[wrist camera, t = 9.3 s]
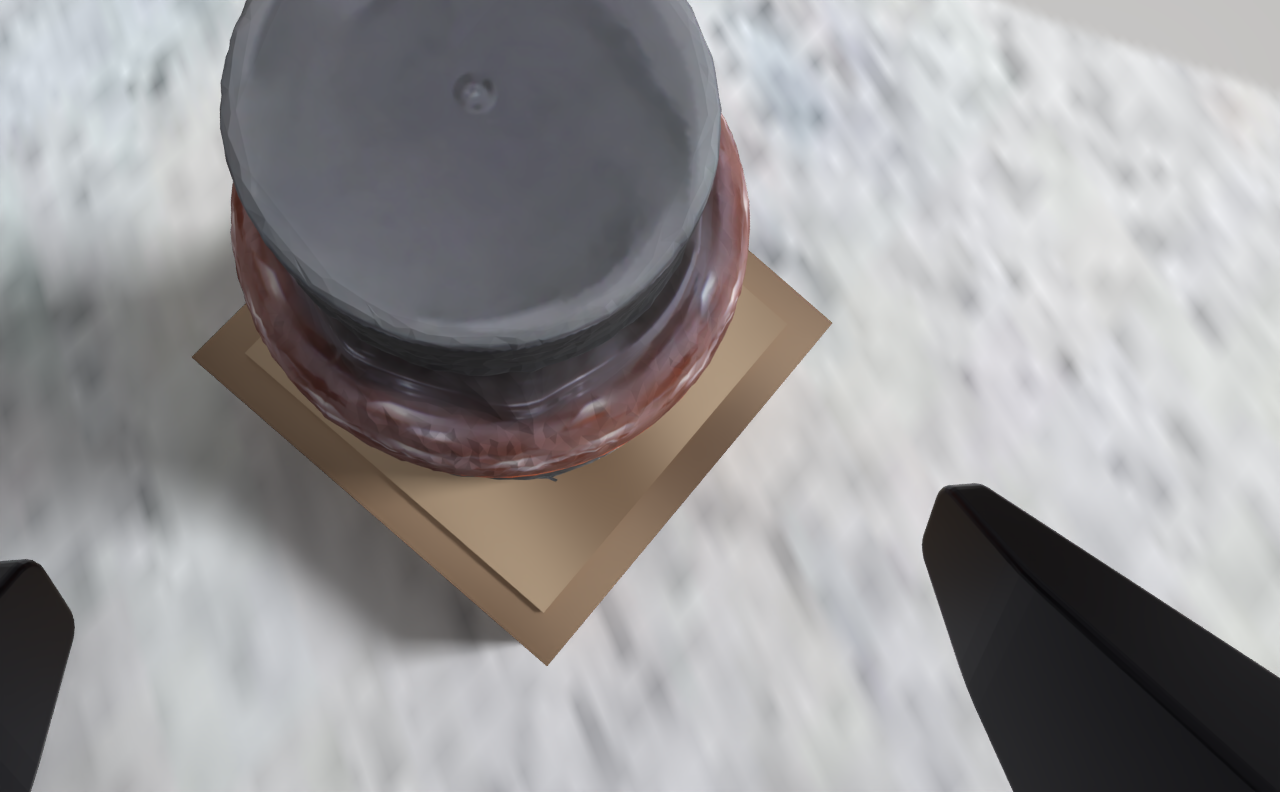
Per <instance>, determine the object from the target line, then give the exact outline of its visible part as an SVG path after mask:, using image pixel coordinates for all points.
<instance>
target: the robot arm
mask: <svg viewBox="0 0 1280 792" xmlns="http://www.w3.org/2000/svg"><path fill="white" fill-rule="evenodd" d="M922 552H923V558H924V561H925V564H926V567H927V570H928V574H929V577H930V580H931V583H932V586H933V589H934V592H935V595H936V598H937V601H938V604H939V607H940V610H941V613H942V616H943V619H944V622H945V625H946V628H947V631H948V634H949V637H950V640H951V643H952V646H953V649H954V652H955V656H956V659H957V662H958V665H959V668H960V670H961V673H962V676H963V679H964V681H965V684H966V687H967V689H968V692H969V694H970V696H971V699H972V701H973V704H974V706H975V708H976V711H977V713H978V715H979V717H980V719H981V722H982V724H983V726H984V728H985V730H986V733H987V735H988V737H989V739H990V741H991V744H992V746H993V748H994V750H995V753H996V755H997V757H998V759H999V761H1000V764H1001V766H1002V768H1003V770H1004V772H1005V775H1006V777H1007V779H1008V781H1009V783H1010V786H1011V788H1012V790H1013V792H1280V678H1279V677H1278V676H1276V675H1275V674H1273V673H1272V672H1270V671H1269V670H1267V669H1265V668H1264V667H1262V666H1261V665H1259V664H1258V663H1256V662H1255V661H1253V660H1252V659H1250V658H1249V657H1247V656H1246V655H1244V654H1242V653H1241V652H1239V651H1238V650H1236V649H1235V648H1233V647H1232V646H1230V645H1229V644H1227V643H1226V642H1224V641H1223V640H1221V639H1219V638H1218V637H1216V636H1215V635H1213V634H1212V633H1210V632H1209V631H1207V630H1206V629H1204V628H1203V627H1201V626H1200V625H1198V624H1196V623H1195V622H1193V621H1192V620H1190V619H1189V618H1187V617H1186V616H1184V615H1183V614H1181V613H1180V612H1178V611H1177V610H1175V609H1174V608H1172V607H1170V606H1169V605H1167V604H1166V603H1164V602H1163V601H1161V600H1160V599H1158V598H1157V597H1155V596H1154V595H1152V594H1151V593H1149V592H1147V591H1146V590H1144V589H1143V588H1141V587H1140V586H1138V585H1137V584H1135V583H1134V582H1132V581H1131V580H1129V579H1128V578H1126V577H1124V576H1123V575H1121V574H1120V573H1118V572H1117V571H1115V570H1114V569H1112V568H1111V567H1109V566H1108V565H1106V564H1105V563H1103V562H1101V561H1100V560H1098V559H1097V558H1095V557H1094V556H1092V555H1091V554H1089V553H1088V552H1086V551H1085V550H1083V549H1082V548H1080V547H1079V546H1077V545H1075V544H1074V543H1072V542H1071V541H1069V540H1068V539H1066V538H1065V537H1063V536H1062V535H1060V534H1059V533H1057V532H1056V531H1054V530H1052V529H1051V528H1049V527H1048V526H1046V525H1045V524H1043V523H1042V522H1040V521H1039V520H1037V519H1036V518H1034V517H1033V516H1031V515H1029V514H1028V513H1026V512H1025V511H1023V510H1022V509H1020V508H1019V507H1017V506H1016V505H1014V504H1013V503H1011V502H1010V501H1008V500H1006V499H1005V498H1003V497H1002V496H1000V495H999V494H997V493H996V492H994V491H993V490H991V489H990V488H988V487H986V486H984V485H982V484H977V483H972V484H959V485H948V486H945V487H943V488H942V489H941V490H940V491H939V493H938V495H937V497H936V500H935V503H934V506H933V509H932V512H931V515H930V518H929V521H928V524H927V527H926V529H925V532H924V535H923V541H922ZM74 629H75V626H74V619H73V615H72V612H71V610H70V608H69V607H68V605H67V604H66V602H65V601H64V599H63V598H62V596H61V595H60V593H59V591H58V590H57V588H56V587H55V585H54V584H53V582H52V581H51V579H50V578H49V576H48V575H47V573H46V571H45V570H44V568H43V567H42V566H41V565H40V564H38V563H36V562H35V561H33V560H28V559H22V560H10V561H0V792H31V789H32V786H33V783H34V780H35V776H36V773H37V770H38V767H39V763H40V759H41V756H42V752H43V748H44V745H45V741H46V737H47V734H48V730H49V726H50V723H51V719H52V715H53V712H54V708H55V704H56V701H57V697H58V693H59V690H60V686H61V682H62V679H63V675H64V671H65V668H66V664H67V660H68V657H69V653H70V649H71V646H72V642H73V638H74Z"/></svg>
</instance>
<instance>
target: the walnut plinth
mask: <svg viewBox="0 0 1280 792" xmlns="http://www.w3.org/2000/svg"><path fill="white" fill-rule="evenodd" d="M831 324H832V322H831V321H830V320H828V319H827V318H826V317H825V316H824V315H823V314H822V313H820V312H819V311H818V310H817V309H816V308H815V307H813V306H812V305H811V304H810V303H809V302H808V301H807V300H805V299H804V298H803V297H802V296H801V295H800V294H799V293H797V292H796V291H795V290H794V289H793V288H792V287H790V286H789V285H788V284H787V283H786V282H785V281H784V280H782V279H781V278H780V277H779V276H778V275H777V274H776V273H774V272H773V271H772V270H771V269H770V268H769V267H767V266H766V265H765V264H764V263H763V262H762V261H761V260H759V259H758V258H757V257H756V256H755V255H754V254H752V253H751V252H750V251H749V250H748V258H747V265H746V271H745V276H744V280H743V284H742V290H741V294H740V296H739V298H738V300H737V305H736V310H735V313H734V316H733V319H732V321H731V323H730V325H729V327H728V329H727V331H726V334H725V336H724V338H723V340H722V341H721V343H720V345H719V347H718V349H717V351H716V352H715V354H714V356H713V358H712V360H711V362H710V364H709V365H708V367H707V368H706V369H705V371H704V372H703V373H702V374H701V376H700V377H699V379H698V380H697V382H696V383H695V384H694V385H692V386H691V388H690V389H689V390H688V391H687V392H686V394H685V395H684V396H683V397H682V399H681V400H680V401H679V402H677V403H676V404H675V405H674V406H673V407H672V408H671V409H670V410H669V411H668V412H667V413H666V414H665V415H664V416H662V417H661V418H660V419H659V420H658V421H657V422H656V423H655V424H653V425H652V426H651V427H649V428H648V429H646V430H645V431H644V432H642V433H641V434H639V435H638V436H636V437H635V438H633V439H632V440H630V441H629V442H627V443H626V444H624V445H622V446H620V447H619V448H617V449H616V450H614V451H612V452H611V453H609V454H607V455H606V456H604V457H602V458H600V459H598V460H596V461H594V462H592V463H590V464H587V465H584V466H582V467H579V468H576V469H574V470H571V471H568V472H566V473H563V474H560V475H557V476H555V477H553V478H556V479H557V481H556V482H555V481H552V480H550V479H531V480H513V479H511V480H496V479H491V478H485V477H460V476H455V475H451V474H448V473H445V472H440V471H433V470H431V469H428V468H424V467H421V466H418V465H415V464H412V463H410V462H407V461H400V460H398V459H396V458H394V457H392V456H390V455H388V454H386V453H384V452H382V451H380V450H378V449H376V448H373V447H370V446H368V445H367V444H365V443H364V442H362V441H361V440H359V439H358V438H356V437H355V436H354V435H352V434H351V433H349V432H348V431H346V430H344V429H343V428H341V427H339V426H338V425H336V424H334V423H333V422H331V421H329V420H328V419H326V418H325V417H324V416H323V414H322V413H321V412H320V411H319V410H318V409H317V408H316V407H315V406H314V405H313V404H312V403H311V402H310V401H309V400H308V399H307V398H306V397H305V396H304V395H303V394H302V393H301V392H300V391H299V390H298V389H297V387H296V386H295V385H294V384H293V383H292V382H291V381H290V379H289V378H288V377H287V375H286V373H285V372H284V371H283V369H282V368H281V367H280V366H279V365H278V364H277V362H276V361H275V360H274V359H273V358H272V356H271V354H270V352H269V350H268V348H267V346H266V345H265V344H264V343H263V341H262V338H261V336H260V334H259V333H258V331H257V330H256V328H255V325H254V322H253V319H252V316H251V313H250V311H249V309H248V307H247V304H245V305H244V306H243V307H242V308H241V309H240V310H239V311H238V312H237V313H236V314H235V315H234V316H233V317H232V318H231V319H230V320H229V321H228V322H227V323H226V324H225V325H223V326H222V327H221V328H220V329H219V330H218V331H217V332H216V333H215V334H214V335H213V336H212V337H211V338H210V339H209V340H208V341H207V342H206V343H205V344H204V345H203V346H202V347H201V348H200V349H199V350H198V351H197V352H196V353H195V354H194V355H193V356H192V358H193V359H194V360H195V361H196V362H198V363H199V364H200V365H201V366H202V367H203V368H204V369H206V370H207V371H208V372H209V373H210V374H211V375H213V376H214V377H215V378H216V379H217V380H218V381H219V382H221V383H222V384H223V385H224V386H225V387H226V388H227V389H229V390H230V391H231V392H232V393H233V394H234V395H236V396H237V397H238V398H239V399H240V400H241V401H242V402H244V403H245V404H246V405H247V406H248V407H249V408H250V409H252V410H253V411H254V412H255V413H256V414H257V415H259V416H260V417H261V418H262V419H263V420H264V421H265V422H267V423H268V424H269V425H270V426H271V427H272V428H273V429H275V430H276V431H277V432H278V433H279V434H280V435H282V436H283V437H284V438H285V439H286V440H287V441H288V442H290V443H291V444H292V445H293V446H294V447H295V448H296V449H298V450H299V451H300V452H301V453H302V454H303V455H305V456H306V457H307V458H308V459H309V460H310V461H311V462H313V463H314V464H315V465H316V466H317V467H318V468H319V469H321V470H322V471H323V472H324V473H325V474H326V475H328V476H329V477H330V478H331V479H332V480H333V481H334V482H336V483H337V484H338V485H339V486H340V487H341V488H342V489H344V490H345V491H346V492H347V493H348V494H349V495H351V496H352V497H353V498H354V499H355V500H356V501H357V502H359V503H360V504H361V505H362V506H363V507H364V508H365V509H367V510H368V511H369V512H370V513H371V514H372V515H374V516H375V517H376V518H377V519H378V520H379V521H380V522H382V523H383V524H384V525H385V526H386V527H387V528H388V529H390V530H391V531H392V532H393V533H394V534H395V535H397V536H398V537H399V538H400V539H401V540H402V541H403V542H405V543H406V544H407V545H408V546H409V547H410V548H411V549H413V550H414V551H415V552H416V553H417V554H418V555H420V556H421V557H422V558H423V559H424V560H425V561H426V562H428V563H429V564H430V565H431V566H432V567H433V568H434V569H436V570H437V571H438V572H439V573H440V574H441V575H443V576H444V577H445V578H446V579H447V580H448V581H449V582H451V583H452V584H453V585H454V586H455V587H456V588H457V589H459V590H460V591H461V592H462V593H463V594H464V595H466V596H467V597H468V598H469V599H470V600H471V601H472V602H474V603H475V604H476V605H477V606H478V607H479V608H480V609H482V610H483V611H484V612H485V613H486V614H487V615H489V616H490V617H491V618H492V619H493V620H494V621H495V622H497V623H498V624H499V625H500V626H501V627H502V628H503V629H505V630H506V631H507V632H508V633H509V634H510V635H512V636H513V637H514V638H515V639H516V640H517V641H518V642H520V643H521V644H522V645H523V646H524V647H525V648H526V649H528V650H529V651H530V652H531V653H532V654H533V655H535V656H536V657H537V658H538V659H539V660H540V661H541V662H543V663H544V664H545V665H546V666H548V664H549V663H550V662H551V661H552V660H553V658H554V657H555V656H556V655H557V654H558V652H559V651H560V650H561V649H562V648H563V646H564V645H565V644H566V643H567V642H568V640H569V639H570V638H571V637H572V636H573V634H574V633H575V632H576V631H577V630H578V628H579V627H580V626H581V625H582V624H583V622H584V621H585V620H586V619H587V618H588V616H589V615H590V614H591V613H592V612H593V610H594V609H595V608H596V607H597V606H598V604H599V603H600V602H601V601H602V600H603V598H604V597H605V596H606V595H607V594H608V592H609V591H610V590H611V589H612V588H613V586H614V585H615V584H616V583H617V581H618V580H619V579H620V578H621V577H622V575H623V574H624V573H625V572H626V571H627V569H628V568H629V567H630V566H631V565H632V563H633V562H634V561H635V560H636V559H637V557H638V556H639V555H640V554H641V553H642V551H643V550H644V549H645V548H646V547H647V545H648V544H649V543H650V542H651V541H652V539H653V538H654V537H655V536H656V535H657V533H658V532H659V531H660V530H661V529H662V527H663V526H664V525H665V524H666V523H667V521H668V520H669V519H670V518H671V517H672V515H673V514H674V513H675V512H676V511H677V509H678V508H679V507H680V506H681V505H682V503H683V502H684V501H685V500H686V499H687V497H688V496H689V495H690V494H691V493H692V491H693V490H694V489H695V488H696V486H697V485H698V484H699V483H700V482H701V480H702V479H703V478H704V477H705V476H706V474H707V473H708V472H709V471H710V470H711V468H712V467H713V466H714V465H715V464H716V462H717V461H718V460H719V459H720V458H721V456H722V455H723V454H724V453H725V452H726V450H727V449H728V448H729V447H730V446H731V444H732V443H733V442H734V441H735V440H736V438H737V437H738V436H739V435H740V434H741V432H742V431H743V430H744V429H745V428H746V426H747V425H748V424H749V423H750V422H751V420H752V419H753V418H754V417H755V416H756V414H757V413H758V412H759V411H760V410H761V408H762V407H763V406H764V405H765V404H766V402H767V401H768V400H769V399H770V398H771V396H772V395H773V394H774V393H775V391H776V390H777V389H778V388H779V387H780V385H781V384H782V383H783V382H784V381H785V379H786V378H787V377H788V376H789V375H790V373H791V372H792V371H793V370H794V369H795V367H796V366H797V365H798V364H799V363H800V361H801V360H802V359H803V358H804V357H805V355H806V354H807V353H808V352H809V351H810V349H811V348H812V347H813V346H814V345H815V343H816V342H817V341H818V340H819V339H820V337H821V336H822V335H823V334H824V333H825V331H826V330H827V329H828V328H829V327H830V325H831Z"/></svg>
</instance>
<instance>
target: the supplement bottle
mask: <svg viewBox="0 0 1280 792" xmlns="http://www.w3.org/2000/svg"><path fill="white" fill-rule="evenodd" d="M221 95H222V96H221V104H220V130H221V135H222V139H223V144H224V150H225V157H226V162H227V165H228V168H229V171H230V174H231V176H232V179H233V185H232V195H231V224H232V226H231V231H230V232H231V240H232V248H233V253H234V257H235V262H236V270H237V275H238V279H239V282H240V285H241V288H242V290H243V293H244V297H245V302H246V304H247V307H248V309H249V311H250V313H251V316H252V319H253V322H254V325H255V328H256V330H257V331H258V333H259V334H260V336H261V338H262V341H263V343H264V344H265V345H266V346H267V348H268V350H269V352H270V354H271V356H272V358H273V359H274V360H275V361H276V362H277V364H278V365H279V366H280V367H281V368H282V369H283V371H284V372H285V373H286V375H287V377H288V378H289V379H290V381H291V382H292V383H293V384H294V385H295V386H296V387H297V389H298V390H299V391H300V392H301V393H302V394H303V395H304V396H305V397H306V398H307V399H308V400H309V401H310V402H311V403H312V404H313V405H314V406H315V407H316V408H317V409H318V410H319V411H320V412H321V413H322V414H323V416H324V417H325V418H326V419H328V420H329V421H331V422H333V423H334V424H336V425H338V426H339V427H341V428H343V429H344V430H346V431H348V432H349V433H351V434H352V435H354V436H355V437H356V438H358V439H359V440H361V441H362V442H364V443H365V444H367V445H368V446H370V447H373V448H376V449H378V450H380V451H382V452H384V453H386V454H388V455H390V456H392V457H394V458H396V459H398V460H400V461H407V462H410V463H412V464H415V465H418V466H421V467H424V468H428V469H431V470H433V471H440V472H445V473H448V474H451V475H455V476H460V477H485V478H491V479H496V480H511V479H513V480H531V479H550V480H552V481H555V482H556V481H557V479H556V478H553V477H555V476H557V475H560V474H563V473H566V472H568V471H571V470H574V469H576V468H579V467H582V466H584V465H587V464H590V463H592V462H594V461H596V460H598V459H600V458H602V457H604V456H606V455H607V454H609V453H611V452H612V451H614V450H616V449H617V448H619V447H620V446H622V445H624V444H626V443H627V442H629V441H630V440H632V439H633V438H635V437H636V436H638V435H639V434H641V433H642V432H644V431H645V430H646V429H648V428H649V427H651V426H652V425H653V424H655V423H656V422H657V421H658V420H659V419H660V418H661V417H662V416H664V415H665V414H666V413H667V412H668V411H669V410H670V409H671V408H672V407H673V406H674V405H675V404H676V403H677V402H679V401H680V400H681V399H682V397H683V396H684V395H685V394H686V392H687V391H688V390H689V389H690V388H691V386H692V385H694V384H695V383H696V382H697V380H698V379H699V377H700V376H701V374H702V373H703V372H704V371H705V369H706V368H707V367H708V365H709V364H710V362H711V360H712V358H713V356H714V354H715V352H716V351H717V349H718V347H719V345H720V343H721V341H722V340H723V338H724V336H725V334H726V331H727V329H728V327H729V325H730V323H731V321H732V319H733V316H734V313H735V310H736V305H737V300H738V298H739V296H740V294H741V290H742V284H743V280H744V276H745V271H746V265H747V258H748V247H749V232H750V209H749V199H748V192H747V187H746V182H745V177H744V173H743V168H742V165H741V162H740V159H739V154H738V150H737V146H736V143H735V141H734V139H733V135H732V132H731V131H730V129H729V127H728V125H727V122H726V120H725V118H724V117H723V115H722V113H721V110H722V109H721V104H720V99H719V93H718V86H717V79H716V72H715V67H714V62H713V58H712V55H711V53H710V51H709V48H708V46H707V44H706V41H705V39H704V37H703V34H702V32H701V30H700V27H699V25H698V22H697V20H696V17H695V15H694V12H693V10H692V7H691V6H690V5H689V3H688V2H687V0H246V3H245V6H244V8H243V11H242V14H241V16H240V18H239V20H238V21H237V23H236V25H235V27H234V30H233V33H232V36H231V39H230V46H229V50H228V53H227V55H226V59H225V64H224V69H223V74H222V79H221Z"/></svg>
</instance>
